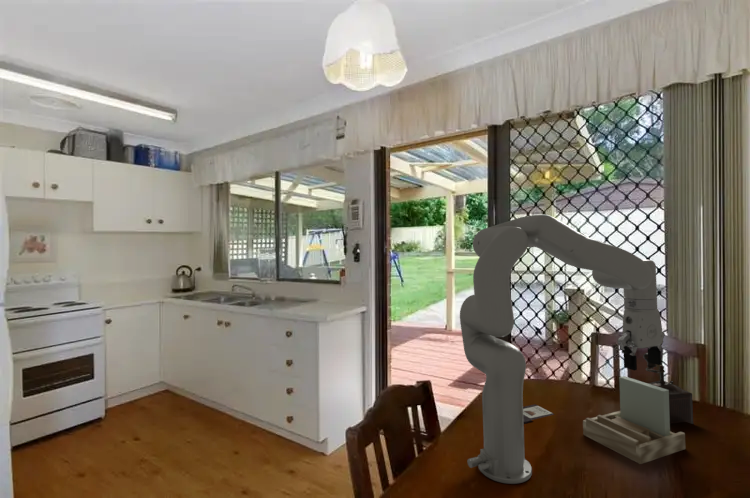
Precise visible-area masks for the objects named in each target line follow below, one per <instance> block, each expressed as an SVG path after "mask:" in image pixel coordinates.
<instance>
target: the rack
mask: <svg viewBox="0 0 750 498" xmlns="http://www.w3.org/2000/svg"><path fill="white" fill-rule="evenodd" d="M618 417H619V418H621V414H620V410H618V411H613V412H610V413H607V414H606V413H605V414H603V415H601V414H598V415H597V416H595V417H585V419H583V420H582V431H583V433H582V434H583V436H585V437H587V438H589V439H591V440H593V441H595V442H597V443H598V444H600V445H602V446H604V447H606V448H609V449H610V450H613V452H616V453H618V454H620V455H622V456H623V457H626V458H627V459H629V460H631V461H633V462H635V463H637V464H639V465H643V464H646V463H648V462H652V461H654V460H657V459H661V458H664V457H665V456H666V457H667V456H669V455H672V454H676V453H678V452H680V451H683V450H686V433H685V432H683V431H678V432H676V433H675V432H674V431H673V432H672V431H671V430H670V435H669V436H663V435H660V434H658V433H656V432H653V431H651V430H649V436H647V435H645V434H642V433H640V432H638V431H636V430H633V429H631V428H629V427H626V426H624V425H622V424H620V423H617V422H615V421H613V420H612V419H615V418H618ZM622 419H623V418H622ZM624 420H625V419H624ZM629 422H630V421H629ZM651 438H652V439H655V440H653V441H651Z"/></svg>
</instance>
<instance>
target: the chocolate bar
mask: <svg viewBox="0 0 750 498" xmlns="http://www.w3.org/2000/svg"><path fill="white" fill-rule="evenodd" d="M553 415H555V413H553V412H551V411H549V410H547V409H545V408H543V407H542V406H539V405H537V404H534V403H533V404H530V405H525V406H523V422H524V425H525V424H529V423H533V422H534V421H533V420H537V419H542V418H545V417H550V416H553Z"/></svg>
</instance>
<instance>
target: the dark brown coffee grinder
mask: <svg viewBox="0 0 750 498" xmlns="http://www.w3.org/2000/svg"><path fill="white" fill-rule="evenodd" d="M642 358H643V359H644V360H645V362H646V363H647V364H646V368H645V371H647V372H650V373H656V374H659V376H660V377H659V380H657V381H652V382H647V383H648V384H651V385H654V386H657V387H660V388H664V389H667V390H669V416H670V425H671V424H677V423H678V424H679V423H688V424H691V425H694V423H695V422H694V413H693V412H694V411H693V410H694V406H693V393H692V392H689V391H687V390H685V389H683V388H681V387H680V386H679V385H675V384H674V381H673V380H670V381H669V382H667V381H666V380H665V373H666V370H665V366H664V365H662V364H661V365H657V364H653V363H649V362H648V352H645V353H644V354H643V356H642ZM656 367H658V368H659V369H658V370H657V369H654V368H656Z"/></svg>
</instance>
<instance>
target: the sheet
mask: <svg viewBox="0 0 750 498" xmlns="http://www.w3.org/2000/svg"><path fill="white" fill-rule="evenodd" d="M618 379H619V407H620V409H619V411H620V414H621V418H623V419H625V420H627V421H630V422H632V423H634V424H637V425H639V426H642V427H645V428H647V429H649V430H651V431H653V432H656V433H658V434H660V435H663V436H669V435H670V431H671V424H670V416H669V390H667V389H664V388H660V387H657V386H654V385H651V384H648V383H649V382H644V381H641V380H639V379H635V378H631V377H629V376H625V375H623V376H619V377H618Z"/></svg>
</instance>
